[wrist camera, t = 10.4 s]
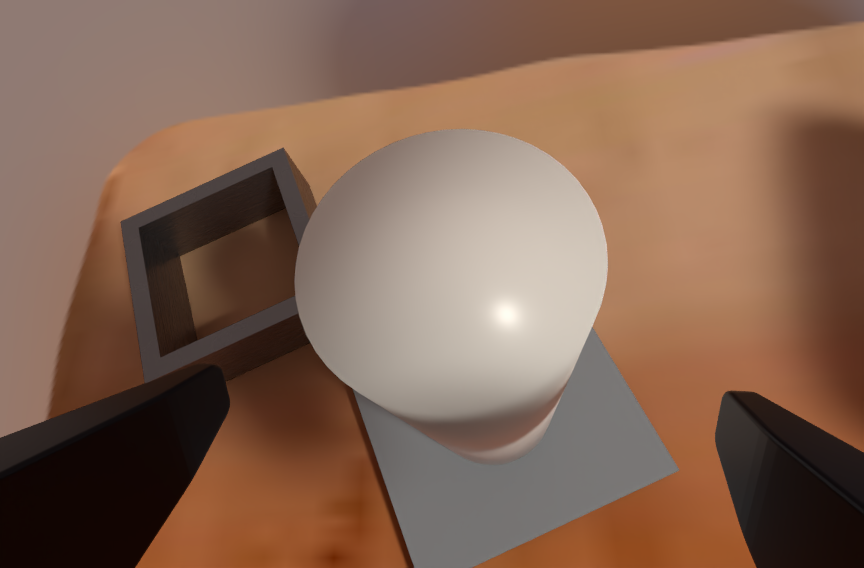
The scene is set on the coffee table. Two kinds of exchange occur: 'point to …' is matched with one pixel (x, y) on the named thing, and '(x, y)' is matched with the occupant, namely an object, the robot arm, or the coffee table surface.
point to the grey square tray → (194, 227)
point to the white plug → (455, 286)
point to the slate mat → (519, 470)
